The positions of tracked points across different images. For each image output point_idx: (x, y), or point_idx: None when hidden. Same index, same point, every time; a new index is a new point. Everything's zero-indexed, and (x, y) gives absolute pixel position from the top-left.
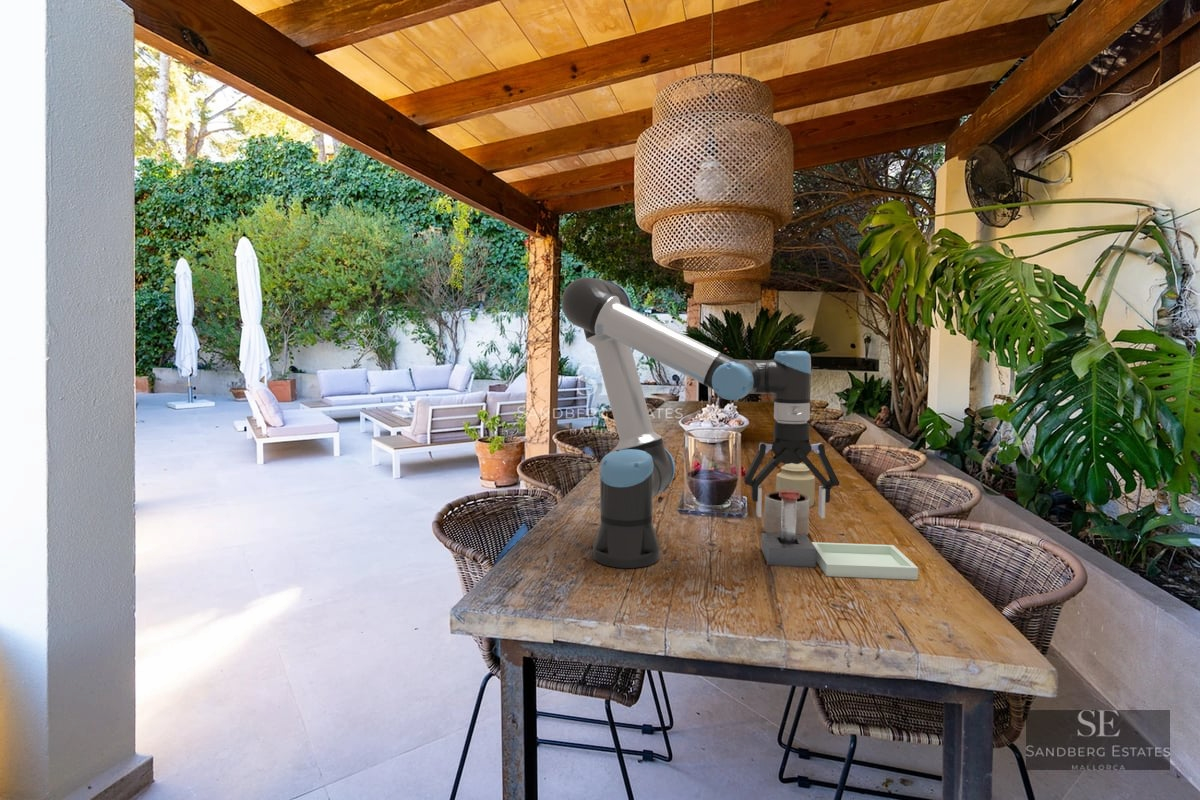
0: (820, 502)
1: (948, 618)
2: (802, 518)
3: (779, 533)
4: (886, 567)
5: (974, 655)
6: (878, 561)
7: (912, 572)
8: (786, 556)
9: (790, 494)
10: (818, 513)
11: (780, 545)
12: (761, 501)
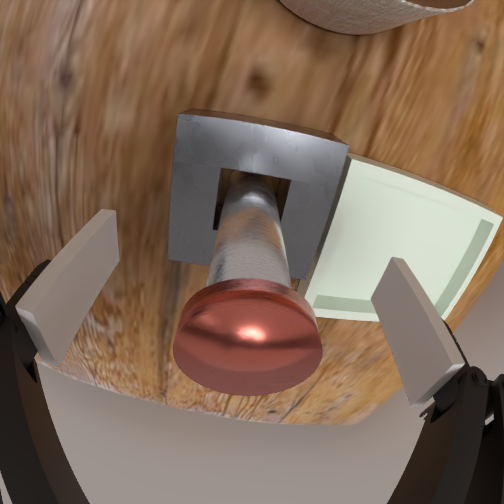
0: (400, 331)
1: (362, 389)
2: (402, 23)
3: (248, 123)
4: None
5: (322, 422)
6: (441, 247)
7: None
8: None
9: (231, 391)
10: (393, 263)
11: (208, 247)
12: (88, 309)
